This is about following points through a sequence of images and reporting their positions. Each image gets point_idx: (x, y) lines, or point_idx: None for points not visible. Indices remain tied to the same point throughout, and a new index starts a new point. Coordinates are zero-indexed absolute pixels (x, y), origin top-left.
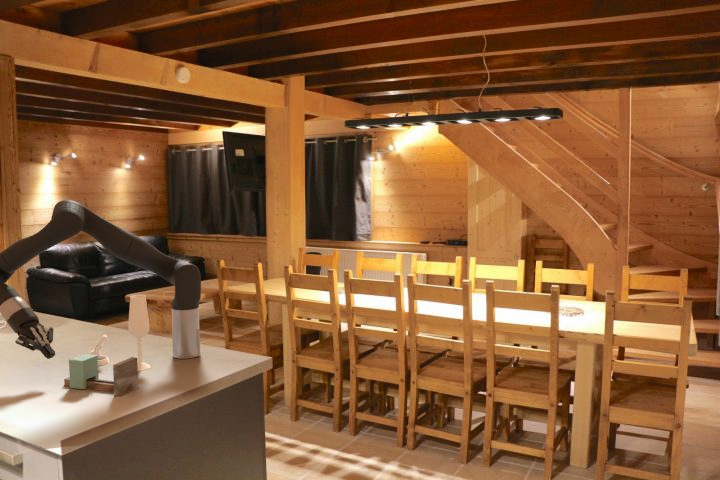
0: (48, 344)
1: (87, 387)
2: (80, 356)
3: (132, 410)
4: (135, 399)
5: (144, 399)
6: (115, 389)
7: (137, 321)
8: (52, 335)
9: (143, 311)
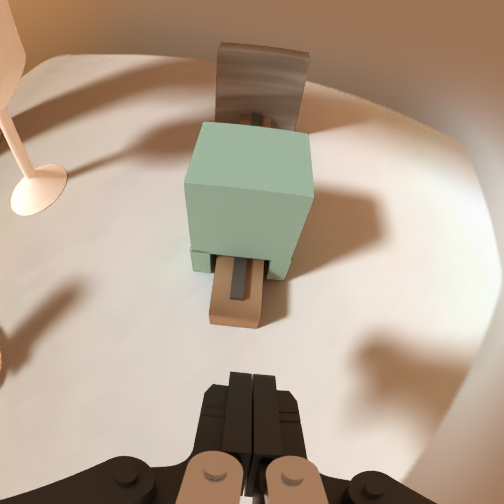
0: (219, 453)
1: None
2: (239, 173)
3: (345, 95)
4: None
5: None
6: (295, 120)
7: (12, 23)
8: (40, 497)
9: None
